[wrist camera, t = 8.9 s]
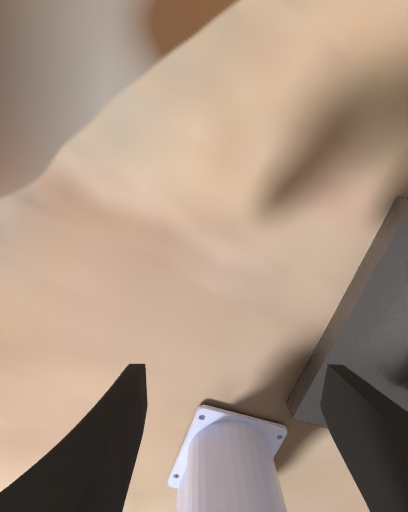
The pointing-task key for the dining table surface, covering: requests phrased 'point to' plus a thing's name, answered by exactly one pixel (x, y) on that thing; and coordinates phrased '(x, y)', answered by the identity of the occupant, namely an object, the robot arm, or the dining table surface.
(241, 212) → the dining table surface
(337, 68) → the dining table surface
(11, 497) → the robot arm
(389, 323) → the base
